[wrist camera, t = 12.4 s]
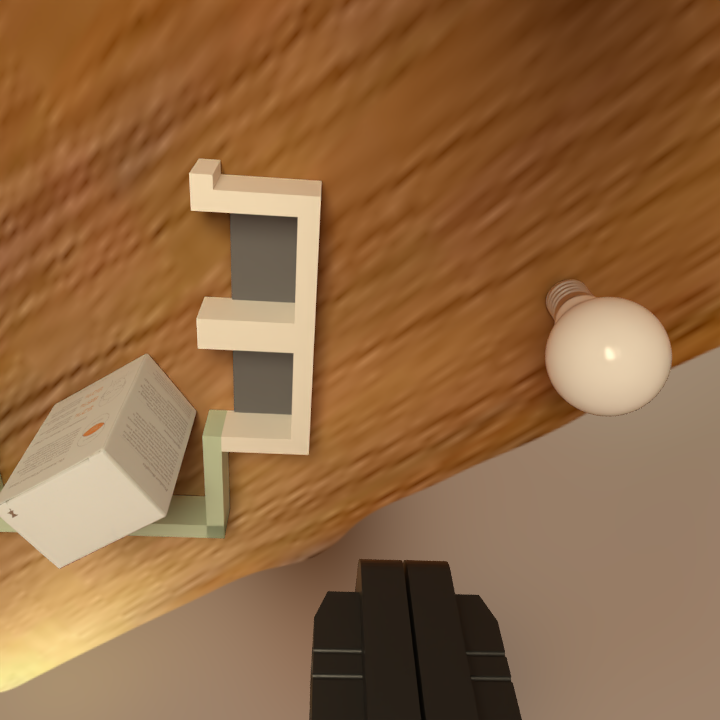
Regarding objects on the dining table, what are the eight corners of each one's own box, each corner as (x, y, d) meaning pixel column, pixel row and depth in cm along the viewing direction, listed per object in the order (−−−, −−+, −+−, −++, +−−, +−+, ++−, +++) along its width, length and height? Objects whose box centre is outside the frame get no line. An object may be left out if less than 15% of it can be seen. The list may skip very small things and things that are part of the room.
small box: (107, 458, 49) (56, 572, 40) (53, 402, 46) (-15, 510, 37) (200, 410, 47) (169, 519, 38) (149, 349, 45) (101, 450, 35)
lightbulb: (615, 327, 45) (692, 427, 35) (518, 347, 45) (568, 450, 36) (613, 237, 42) (696, 320, 32) (509, 259, 42) (560, 347, 33)
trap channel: (-104, 138, 37) (-136, 152, 35) (322, 166, 39) (321, 181, 36) (-10, 501, 50) (-29, 530, 48) (305, 511, 52) (304, 540, 49)
